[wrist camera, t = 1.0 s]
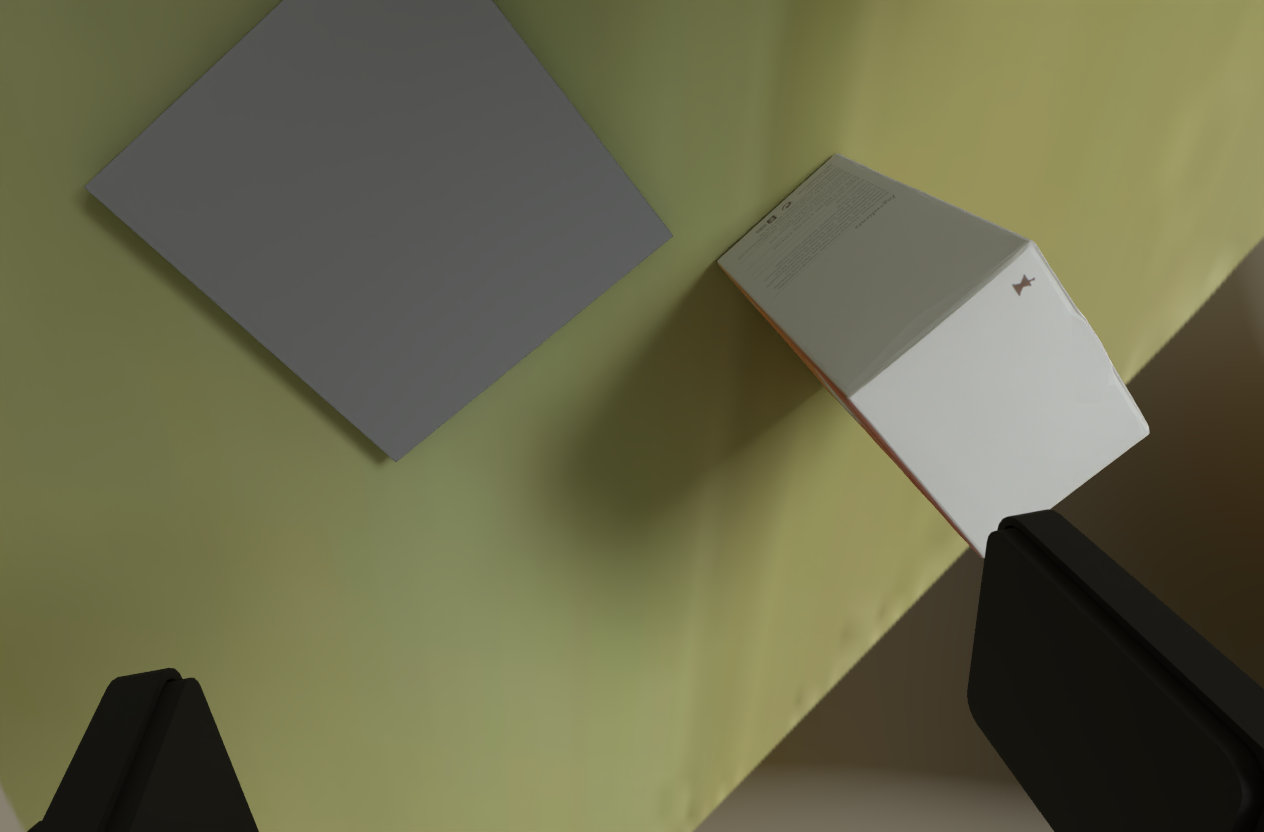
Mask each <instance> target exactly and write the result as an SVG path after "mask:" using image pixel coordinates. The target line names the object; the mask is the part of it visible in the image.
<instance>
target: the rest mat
mask: <svg viewBox="0 0 1264 832" xmlns="http://www.w3.org/2000/svg"><path fill="white" fill-rule="evenodd" d="M84 188H86V189H87V190H88V191H89V192H90V193H91V194H92V195H94V196H95V197H96V198H97V199H98V200H99V201H100V202H101V203H103V204H104V205H105V206H106V207H107V208H108V209H109V210H111V211H112V212H113V213H114V214H115V215H116V216H117V217H118V218H120V219H121V220H122V221H123V222H124V223H125V224H126V225H128V226H129V227H130V228H131V229H132V230H133V231H134V232H135V233H137V234H138V235H139V236H140V237H141V238H142V239H143V240H145V241H146V242H147V243H148V244H149V245H150V246H151V247H152V248H154V249H155V250H156V251H157V252H158V253H159V254H160V255H162V256H163V257H164V258H165V259H166V260H167V261H168V262H169V263H171V264H172V265H173V266H174V267H175V268H176V269H177V270H179V271H180V272H181V273H182V274H183V275H184V276H185V277H186V278H188V279H189V280H190V281H191V282H192V283H193V284H194V285H196V286H197V287H198V288H199V289H200V290H201V291H202V292H203V293H205V294H206V295H207V296H208V297H209V298H210V299H211V300H213V301H214V302H215V303H216V304H217V305H218V306H219V307H220V308H222V309H223V310H224V311H225V312H226V313H227V314H228V315H230V316H231V317H232V318H233V319H234V320H235V321H236V322H238V323H239V324H240V325H241V326H242V327H243V328H244V329H245V330H247V331H248V332H249V333H250V334H251V335H252V336H253V337H255V338H256V339H257V340H258V341H259V342H260V343H261V344H262V345H264V346H265V347H266V348H267V349H268V350H269V351H270V352H272V353H273V354H274V355H275V356H276V357H277V358H278V359H279V360H281V361H282V362H283V363H284V364H285V365H286V366H287V367H289V368H290V369H291V370H292V371H293V372H294V373H295V374H296V375H298V376H299V377H300V378H301V379H302V380H303V381H304V382H306V383H307V384H308V385H309V386H310V387H311V388H312V389H313V390H315V391H316V392H317V393H318V394H319V395H320V396H321V397H323V398H324V399H325V400H326V401H327V402H328V403H329V404H330V405H332V406H333V407H334V408H335V409H336V410H337V411H338V412H340V413H341V414H342V415H343V416H344V417H345V418H346V419H347V420H349V421H350V422H351V423H352V424H353V425H354V426H355V427H357V428H358V429H359V430H360V431H361V432H362V433H363V434H364V435H366V436H367V437H368V438H369V439H370V440H371V441H372V442H374V443H375V444H376V445H377V446H378V447H379V448H380V449H381V450H383V451H384V452H385V453H386V454H387V455H388V456H389V457H391V458H392V459H393V460H394V461H395V462H397V461H398V460H399V459H401V458H402V457H403V456H404V455H405V454H407V453H408V452H409V451H410V450H412V449H413V448H414V447H415V446H417V445H418V444H419V443H420V442H421V441H423V440H424V439H425V438H426V437H428V436H429V435H430V434H431V433H432V432H434V431H435V430H436V429H437V428H439V427H440V426H441V425H442V424H443V423H445V422H446V421H447V420H448V419H450V418H451V417H452V416H453V415H454V414H456V413H457V412H458V411H459V410H461V409H462V408H463V407H464V406H466V405H467V404H468V403H469V402H470V401H472V400H473V399H474V398H475V397H477V396H478V395H479V394H480V393H481V392H483V391H484V390H485V389H486V388H488V387H489V386H490V385H491V384H492V383H494V382H495V381H496V380H497V379H499V378H500V377H501V376H502V375H503V374H505V373H506V372H507V371H508V370H510V369H511V368H512V367H513V366H515V365H516V364H517V363H518V362H519V361H521V360H522V359H523V358H524V357H526V356H527V355H528V354H529V353H530V352H532V351H533V350H534V349H535V348H537V347H538V346H539V345H540V344H541V343H543V342H544V341H545V340H546V339H548V338H549V337H550V336H551V335H552V334H554V333H555V332H556V331H557V330H559V329H560V328H561V327H562V326H564V325H565V324H566V323H567V322H568V321H570V320H571V319H572V318H573V317H575V316H576V315H577V314H578V313H579V312H581V311H582V310H583V309H584V308H586V307H587V306H588V305H589V304H590V303H592V302H593V301H594V300H595V299H597V298H598V297H599V296H600V295H601V294H603V293H604V292H605V291H606V290H608V289H609V288H610V287H611V286H613V285H614V284H615V283H616V282H617V281H619V280H620V279H621V278H622V277H624V276H625V275H626V274H627V273H628V272H630V271H631V270H632V269H633V268H635V267H636V266H637V265H638V264H639V263H641V262H642V261H643V260H644V259H646V258H647V257H648V256H649V255H651V254H652V253H653V252H654V251H655V250H657V249H658V248H659V247H660V246H662V245H663V244H664V243H665V242H666V241H668V240H669V239H670V238H671V237H673V235H672V234H671V232H670V231H669V230H668V228H667V227H666V226H665V224H664V223H663V222H662V221H661V219H660V218H659V217H658V215H657V214H656V213H655V211H654V210H653V209H652V208H651V206H650V205H649V204H648V202H647V201H646V200H645V198H644V197H643V196H642V194H641V193H640V192H639V191H638V189H637V188H636V187H635V185H634V184H633V183H632V181H631V180H630V179H629V178H628V176H627V175H626V174H625V172H624V171H623V170H622V168H621V167H620V166H619V165H618V163H617V162H616V161H615V159H614V158H613V157H612V155H611V154H610V153H609V151H608V150H607V149H606V148H605V146H604V145H603V144H602V142H601V141H600V140H599V138H598V137H597V136H596V135H595V133H594V132H593V131H592V129H591V128H590V127H589V125H588V124H587V123H586V122H585V120H584V119H583V118H582V116H581V115H580V114H579V112H578V111H577V110H576V108H575V107H574V106H573V105H572V103H571V102H570V101H569V99H568V98H567V97H566V95H565V94H564V93H563V92H562V90H561V89H560V88H559V86H558V85H557V84H556V82H555V81H554V80H553V78H552V77H551V76H550V75H549V73H548V72H547V71H546V69H545V68H544V67H543V65H542V64H541V63H540V62H539V60H538V59H537V58H536V56H535V55H534V54H533V52H532V51H531V50H530V49H529V47H528V46H527V45H526V43H525V42H524V41H523V39H522V38H521V37H520V35H519V34H518V33H517V32H516V30H515V29H514V28H513V26H512V25H511V24H510V22H509V21H508V20H507V19H506V17H505V16H504V15H503V13H502V12H501V11H500V9H499V8H498V7H497V6H496V4H495V3H494V2H493V0H283V1H282V2H281V3H280V4H278V5H277V6H276V7H275V8H274V9H273V10H272V11H271V12H270V13H269V14H268V15H267V16H266V17H265V18H264V19H262V20H261V21H260V22H259V23H258V24H257V25H256V26H255V27H254V28H253V29H252V30H251V31H250V32H249V33H248V34H247V35H245V36H244V37H243V38H242V39H241V40H240V41H239V42H238V43H237V44H236V45H235V46H234V47H233V48H232V49H231V50H229V51H228V52H227V53H226V54H225V55H224V56H223V57H222V58H221V59H220V60H219V61H218V62H217V63H216V64H215V65H213V66H212V67H211V68H210V69H209V70H208V71H207V72H206V73H205V74H204V75H203V76H202V77H201V78H200V79H199V80H197V81H196V82H195V83H194V84H193V85H192V86H191V87H190V88H189V89H188V90H187V91H186V92H185V93H184V94H183V95H181V96H180V97H179V98H178V99H177V100H176V101H175V102H174V103H173V104H172V105H171V106H170V107H169V108H168V109H167V110H165V111H164V112H163V113H162V114H161V115H160V116H159V117H158V118H157V119H156V120H155V121H154V122H153V123H152V124H151V125H149V126H148V127H147V128H146V129H145V130H144V131H143V132H142V133H141V134H140V135H139V136H138V137H137V138H136V139H135V140H133V141H132V142H131V143H130V144H129V145H128V146H127V147H126V148H125V149H124V150H123V151H122V152H121V153H120V154H119V155H117V156H116V157H115V158H114V159H113V160H112V161H111V162H110V163H109V164H108V165H107V166H106V167H105V168H104V169H103V170H101V171H100V172H99V173H98V174H97V175H96V176H95V177H94V178H93V179H92V180H91V181H90V182H89V183H88V184H87V185H85V186H84Z"/></svg>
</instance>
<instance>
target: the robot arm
mask: <svg viewBox="0 0 1264 832" xmlns="http://www.w3.org/2000/svg"><path fill="white" fill-rule="evenodd" d="M967 697H968V704H969V708H970V711H971V713H972V716H973V718H974V720H975V721H976V723H977V725H978V726H979V727H980V729H981V730H982V732H983V733H984V734H985V736H986V737H987V739H988V740H989V741H990V743H991V744H992V745H993V747H994V748H995V750H996V751H997V752H998V754H999V755H1000V757H1001V758H1002V759H1003V761H1004V762H1005V764H1006V765H1007V766H1008V768H1009V769H1010V771H1011V772H1012V773H1013V775H1014V776H1015V778H1016V779H1017V780H1018V782H1019V783H1020V784H1021V786H1022V787H1023V789H1024V790H1025V791H1026V793H1027V794H1028V796H1029V797H1030V798H1031V800H1032V801H1033V803H1034V804H1035V805H1036V807H1037V808H1038V810H1039V811H1040V812H1041V814H1042V815H1043V816H1044V818H1045V819H1046V820H1047V822H1048V823H1049V825H1050V826H1051V828H1052V829H1053V830H1054V832H1264V689H1263V688H1262V687H1261V686H1259V685H1258V684H1257V683H1256V682H1255V681H1253V680H1252V679H1251V678H1250V677H1249V676H1248V675H1247V674H1245V673H1244V672H1243V671H1242V670H1241V669H1240V668H1239V667H1237V666H1236V665H1235V664H1234V663H1233V662H1231V661H1230V660H1229V659H1228V658H1227V657H1226V656H1225V655H1223V654H1222V653H1221V652H1220V651H1219V650H1218V649H1216V648H1215V647H1214V646H1213V645H1212V644H1211V643H1209V642H1208V641H1207V640H1206V639H1205V638H1203V637H1202V636H1201V635H1200V634H1199V633H1198V632H1197V631H1195V630H1194V629H1193V628H1192V627H1191V626H1190V625H1188V624H1187V623H1186V622H1185V621H1184V620H1183V619H1181V618H1180V617H1179V616H1178V615H1177V614H1176V613H1174V612H1173V611H1172V610H1171V609H1170V608H1169V607H1167V606H1166V605H1165V604H1164V603H1163V602H1161V601H1160V600H1159V599H1158V598H1157V597H1156V596H1155V595H1154V594H1152V593H1151V592H1150V591H1149V590H1148V589H1147V588H1145V587H1144V586H1143V585H1142V584H1140V582H1138V581H1137V580H1136V579H1135V578H1134V577H1133V576H1131V575H1130V574H1129V573H1128V572H1127V571H1125V570H1124V569H1123V568H1122V567H1121V566H1120V565H1118V564H1117V563H1116V562H1115V561H1114V560H1113V559H1111V558H1110V557H1109V556H1108V555H1107V554H1106V553H1105V552H1103V551H1102V550H1101V549H1100V548H1099V547H1098V546H1096V545H1095V544H1094V543H1093V542H1092V541H1090V540H1089V539H1088V538H1087V537H1086V536H1085V535H1084V534H1082V533H1081V532H1080V531H1079V530H1078V529H1077V528H1075V527H1074V526H1073V525H1072V524H1071V523H1070V522H1069V521H1067V520H1066V519H1065V518H1064V517H1063V516H1062V515H1060V514H1059V513H1057V512H1055V511H1054V510H1048V509H1046V510H1041V511H1035V512H1030V513H1024V514H1019V515H1013V516H1008V517H1005V518H1003V519H1002V520H1001V522H1000V523H999V525H998V529H997V531H993V532H991V533H990V535H989V536H988V539H987V544H986V551H985V559H984V568H983V575H982V582H981V590H980V598H979V605H978V613H977V621H976V628H975V636H974V644H973V652H972V659H971V667H970V675H969V682H968V690H967ZM28 832H259V831H258V828H257V826H256V823H255V821H254V818H253V816H252V813H251V811H250V808H249V806H248V803H247V801H246V798H245V796H244V793H243V791H242V788H241V786H240V783H239V781H238V778H237V776H236V773H235V771H234V768H233V766H232V763H231V761H230V758H229V756H228V753H227V751H226V748H225V746H224V743H223V741H222V738H221V736H220V733H219V731H218V728H217V726H216V723H215V721H214V718H213V716H212V713H211V711H210V708H209V706H208V703H207V701H206V698H205V696H204V693H203V691H202V688H201V686H200V684H199V682H198V681H197V680H196V679H195V678H187V679H182V677H181V675H180V673H179V672H178V671H177V670H175V669H174V668H166V669H161V670H155V671H150V672H144V673H139V674H133V675H127V676H122V677H117V678H116V679H114V680H112V681H111V683H110V684H109V686H108V687H107V689H106V691H105V693H104V695H103V697H102V699H101V701H100V703H99V705H98V707H97V709H96V712H95V714H94V716H93V718H92V720H91V722H90V724H89V726H88V728H87V730H86V732H85V734H84V736H83V738H82V740H81V742H80V744H79V746H78V748H77V750H76V753H75V755H74V757H73V759H72V761H71V763H70V765H69V767H68V769H67V771H66V773H65V775H64V777H63V779H62V781H61V783H60V785H59V787H58V789H57V791H56V794H55V796H54V798H53V800H52V802H51V804H50V806H49V808H48V810H47V812H46V814H45V816H44V818H43V820H42V821H39V822H38V823H37V824H36V825H34V826H33V827H32V828H31V829H29V830H28Z"/></svg>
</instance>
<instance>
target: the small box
mask: <svg viewBox="0 0 1264 832" xmlns="http://www.w3.org/2000/svg"><path fill="white" fill-rule="evenodd" d="M717 264H718V266H719V267H720V268H721V269H722V270H723V271H724V272H725V273H726V275H727V276H728V277H729V278H730V279H731V280H732V281H733V283H734V284H735V285H736V286H737V287H738V288H739V289H740V290H741V292H742V293H743V294H744V295H745V296H746V297H747V298H748V300H749V301H750V302H751V303H752V304H753V305H754V306H755V307H756V309H757V310H758V311H759V312H760V313H761V314H762V315H763V316H764V318H765V319H766V320H767V321H768V322H769V323H770V324H771V325H772V327H773V328H774V329H775V330H776V331H777V332H778V333H779V334H780V335H781V337H782V338H783V339H784V340H785V341H786V342H787V343H788V345H789V346H790V347H791V348H792V349H793V350H794V352H795V353H796V354H797V355H798V356H799V357H800V359H801V360H802V361H803V362H804V363H805V364H806V366H807V367H808V368H809V369H810V370H811V371H812V372H813V374H814V375H815V376H816V377H817V378H818V379H819V381H820V382H821V383H822V384H823V386H824V387H825V388H826V389H827V390H828V391H829V392H830V394H831V395H832V396H833V397H834V398H835V399H836V400H837V401H838V402H839V403H840V404H841V405H842V406H843V407H844V408H845V409H846V411H847V412H848V413H849V414H850V415H851V416H852V417H853V418H854V419H855V420H856V421H857V422H858V423H859V424H860V425H861V427H863V428H864V429H865V431H866V432H867V433H868V434H869V435H870V436H871V437H872V439H873V440H874V441H875V442H876V443H877V444H878V445H879V446H880V447H881V448H882V450H883V451H884V452H885V453H886V454H887V455H888V456H889V457H890V458H891V459H892V460H893V461H894V462H895V463H896V464H897V466H898V467H899V468H900V469H901V470H902V471H903V472H904V474H905V475H906V476H907V477H908V478H909V479H910V480H911V482H912V483H913V484H914V485H915V486H916V487H917V488H918V489H919V490H920V491H921V493H922V494H923V495H924V496H925V497H926V498H927V499H928V500H929V501H930V502H931V503H932V504H933V506H934V507H935V508H936V509H937V510H938V511H939V512H940V513H941V514H942V515H943V517H944V518H945V519H946V520H947V521H948V522H949V524H950V525H951V526H952V527H953V528H954V529H955V530H956V532H957V533H958V534H959V535H960V536H961V537H962V538H963V539H964V540H965V541H966V542H967V543H968V544H969V545H970V546H971V547H972V549H973V550H974V551H975V552H976V553H977V554H978V555H979V556H980V557H981V558H985V551H986V544H987V539H988V536H989V535H990V533H991V532H993V531H997V529H998V525H999V523H1000V522H1001V520H1002V519H1003V518H1005V517H1008V516H1013V515H1019V514H1024V513H1030V512H1035V511H1041V510H1046V509H1048V510H1049V509H1050V508H1052V507H1053V506H1054V505H1056V504H1057V503H1059V502H1060V501H1061V500H1062V499H1064V498H1065V497H1066V496H1068V495H1069V494H1070V493H1072V492H1073V491H1074V490H1075V489H1077V488H1078V487H1079V486H1081V485H1082V484H1083V483H1085V482H1086V481H1087V480H1089V479H1090V478H1091V477H1093V476H1094V475H1095V474H1097V473H1098V472H1099V471H1100V470H1102V469H1103V468H1104V467H1106V466H1107V465H1108V464H1110V463H1111V462H1112V461H1114V460H1115V459H1116V458H1117V457H1119V456H1120V455H1122V454H1123V453H1124V452H1125V451H1127V450H1128V449H1129V448H1131V447H1132V446H1134V445H1135V444H1136V443H1137V442H1139V441H1140V440H1142V439H1143V438H1144V437H1146V436H1147V435H1148V434H1149V427H1148V424H1147V422H1146V421H1145V419H1144V417H1143V415H1142V413H1141V412H1140V410H1139V408H1138V407H1137V405H1136V403H1135V402H1134V400H1133V398H1132V396H1131V394H1130V393H1129V391H1128V390H1127V388H1126V386H1125V385H1124V383H1123V381H1122V380H1121V378H1120V376H1119V374H1118V373H1117V371H1116V369H1115V368H1114V366H1113V365H1112V363H1111V361H1110V359H1109V357H1108V355H1107V353H1106V351H1105V349H1104V347H1103V345H1102V343H1101V341H1100V340H1099V338H1098V336H1097V335H1096V333H1095V332H1094V330H1093V329H1092V328H1091V326H1090V324H1089V323H1088V321H1087V320H1086V318H1085V317H1084V315H1083V314H1082V313H1081V312H1080V311H1079V309H1078V308H1077V307H1076V305H1075V304H1074V303H1073V301H1072V299H1071V298H1070V296H1069V295H1068V293H1067V292H1066V290H1065V289H1064V287H1063V286H1062V284H1061V282H1060V281H1059V279H1058V278H1057V276H1056V275H1055V273H1054V272H1053V270H1052V269H1051V267H1050V266H1049V264H1048V262H1047V261H1046V259H1045V258H1044V256H1043V254H1042V253H1041V251H1040V250H1039V248H1038V246H1037V245H1036V244H1035V243H1034V241H1032V240H1030V239H1028V238H1026V237H1023V236H1021V235H1019V234H1017V233H1015V232H1012V231H1010V230H1008V229H1005V228H1003V227H1001V226H999V225H997V224H994V223H992V222H990V221H988V220H985V219H983V218H981V217H979V216H976V215H974V214H972V213H970V212H967V211H965V210H963V209H961V208H959V207H956V206H954V205H952V204H950V203H947V202H945V201H943V200H940V199H938V198H936V197H934V196H931V195H929V194H927V193H925V192H922V191H920V190H917V189H915V188H912V187H910V186H908V185H906V184H903V183H901V182H899V181H897V180H894V179H892V178H890V177H888V176H885V175H883V174H881V173H879V172H877V171H875V170H872V169H870V168H868V167H866V166H865V165H862V164H860V163H858V162H855V161H853V160H851V159H848V158H846V157H844V156H842V155H841V154H835V155H834V156H832V157H831V158H830V159H829V160H828V161H827V162H826V163H825V164H824V165H822V166H821V167H820V168H819V169H818V170H817V171H816V172H814V173H813V174H812V175H811V176H810V177H809V178H808V179H807V180H806V181H804V182H803V183H802V184H801V185H800V186H799V187H798V188H797V189H796V190H795V191H794V192H792V193H791V194H790V195H789V196H788V197H787V198H786V199H785V200H784V201H782V202H781V203H780V204H779V205H778V206H777V207H776V208H775V209H774V210H772V211H771V212H770V213H769V214H768V215H767V216H766V217H765V218H764V219H763V220H762V221H760V222H759V223H758V224H757V225H756V226H755V227H754V228H753V229H752V230H750V231H749V232H748V233H747V234H746V235H745V236H744V237H743V238H742V239H741V240H740V241H738V242H737V243H736V244H735V245H734V246H733V247H732V248H731V249H730V250H728V251H727V252H726V253H725V254H724V255H723V256H722V257H721V258H719V259H718V261H717Z"/></svg>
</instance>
